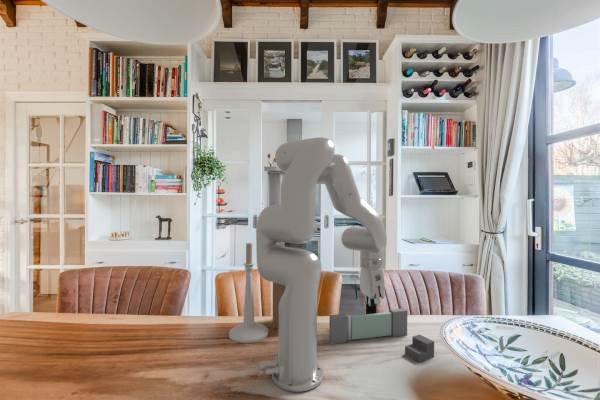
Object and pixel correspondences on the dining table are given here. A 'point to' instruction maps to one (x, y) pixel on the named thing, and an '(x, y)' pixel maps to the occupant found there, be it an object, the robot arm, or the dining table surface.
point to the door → (368, 325)
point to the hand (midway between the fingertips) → (370, 316)
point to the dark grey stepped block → (420, 348)
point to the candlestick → (248, 310)
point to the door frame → (340, 325)
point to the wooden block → (277, 302)
